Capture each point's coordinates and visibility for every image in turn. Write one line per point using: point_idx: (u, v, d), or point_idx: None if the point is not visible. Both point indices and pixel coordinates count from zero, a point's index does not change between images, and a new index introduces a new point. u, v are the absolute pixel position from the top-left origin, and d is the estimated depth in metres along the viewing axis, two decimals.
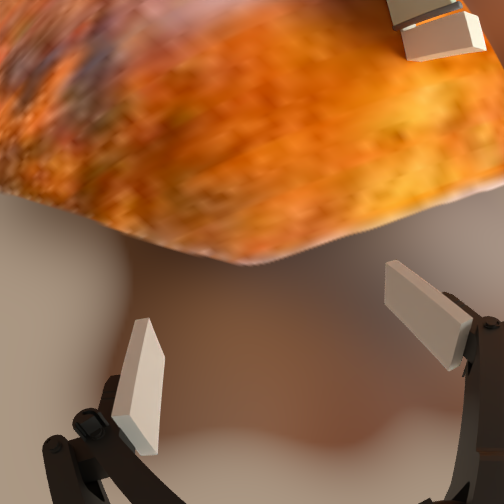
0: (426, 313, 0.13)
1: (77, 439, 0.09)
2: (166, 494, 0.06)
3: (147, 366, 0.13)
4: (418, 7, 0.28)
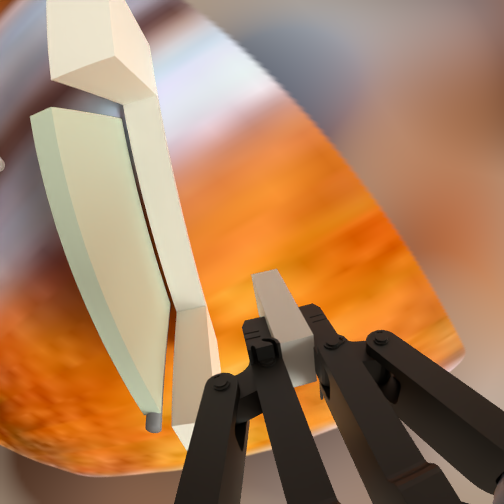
0: None
1: (237, 376, 0.11)
2: (305, 435, 0.08)
3: None
4: None
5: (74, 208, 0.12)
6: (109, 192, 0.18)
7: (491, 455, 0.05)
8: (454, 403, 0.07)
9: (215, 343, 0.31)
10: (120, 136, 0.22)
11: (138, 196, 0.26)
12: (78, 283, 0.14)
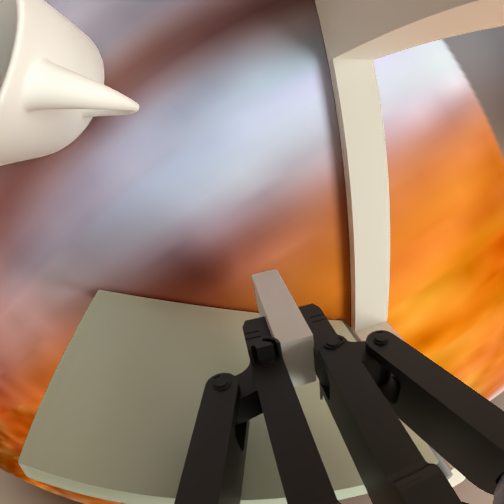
0: None
1: (237, 376, 0.11)
2: (305, 435, 0.08)
3: None
4: None
5: (145, 492, 0.08)
6: (161, 385, 0.13)
7: (491, 455, 0.05)
8: (454, 403, 0.07)
9: None
10: (115, 305, 0.18)
11: (199, 306, 0.21)
12: None
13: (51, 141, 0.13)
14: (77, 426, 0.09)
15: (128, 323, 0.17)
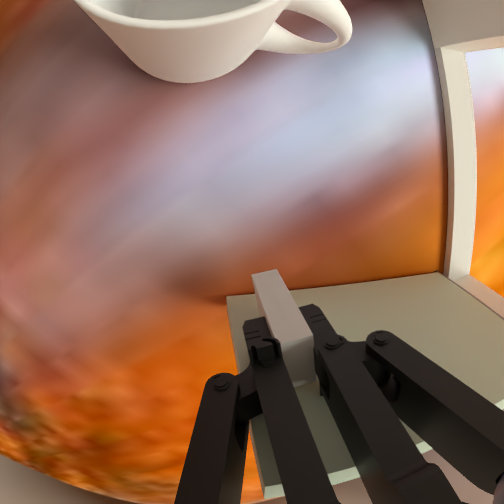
0: None
1: (237, 376, 0.11)
2: (305, 435, 0.08)
3: None
4: None
5: None
6: None
7: (491, 455, 0.05)
8: (454, 403, 0.07)
9: None
10: (254, 306, 0.20)
11: (325, 287, 0.22)
12: None
13: (237, 58, 0.13)
14: None
15: None
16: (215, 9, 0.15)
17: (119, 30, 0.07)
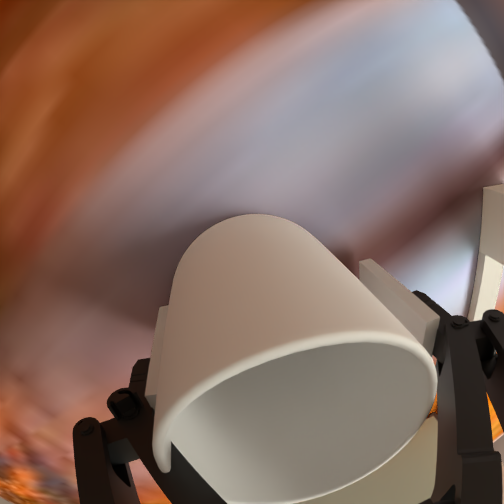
0: (395, 311, 0.14)
1: (108, 421, 0.10)
2: (194, 477, 0.07)
3: None
4: None
5: None
6: None
7: None
8: None
9: None
10: None
11: None
12: None
13: None
14: None
15: None
16: None
17: None
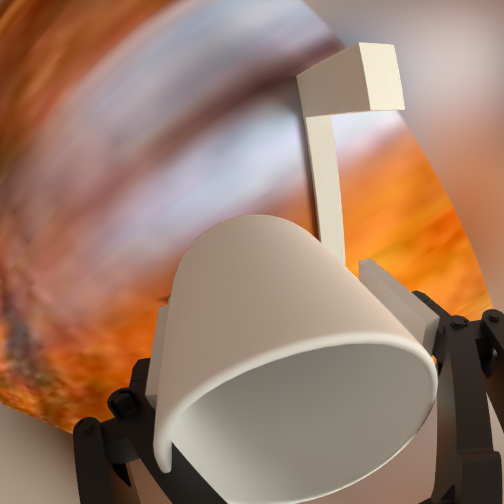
0: (395, 311, 0.14)
1: (108, 421, 0.10)
2: (194, 477, 0.07)
3: None
4: None
5: None
6: None
7: None
8: None
9: None
10: None
11: None
12: None
13: None
14: None
15: None
16: None
17: None
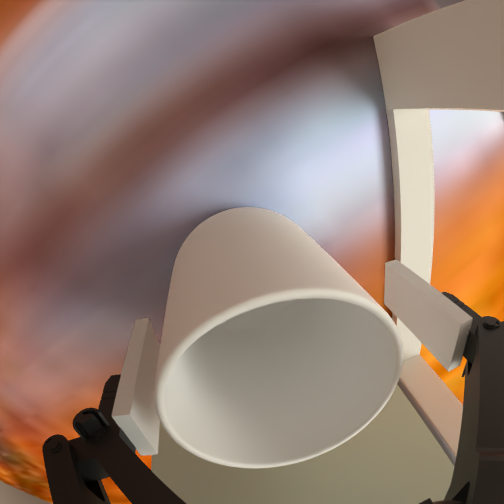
0: (426, 313, 0.13)
1: (77, 439, 0.09)
2: (167, 494, 0.06)
3: (147, 366, 0.13)
4: None
5: None
6: (234, 484, 0.15)
7: None
8: None
9: None
10: None
11: None
12: None
13: None
14: None
15: None
16: None
17: None
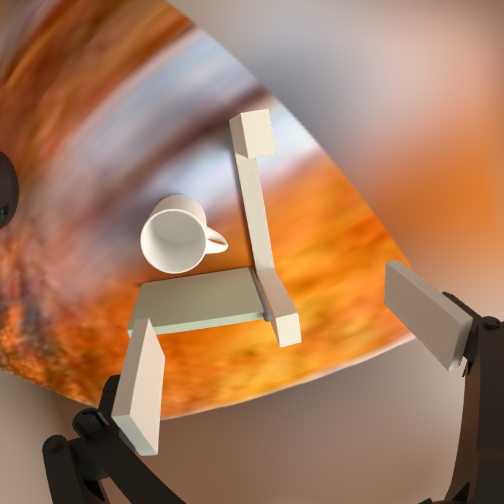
0: (426, 313, 0.13)
1: (77, 439, 0.09)
2: (166, 494, 0.06)
3: (147, 366, 0.13)
4: None
5: (162, 325, 0.39)
6: (168, 302, 0.44)
7: None
8: None
9: None
10: (150, 286, 0.49)
11: (183, 277, 0.51)
12: (190, 329, 0.39)
13: None
14: (143, 318, 0.40)
15: (156, 290, 0.48)
16: (186, 214, 0.48)
17: None
